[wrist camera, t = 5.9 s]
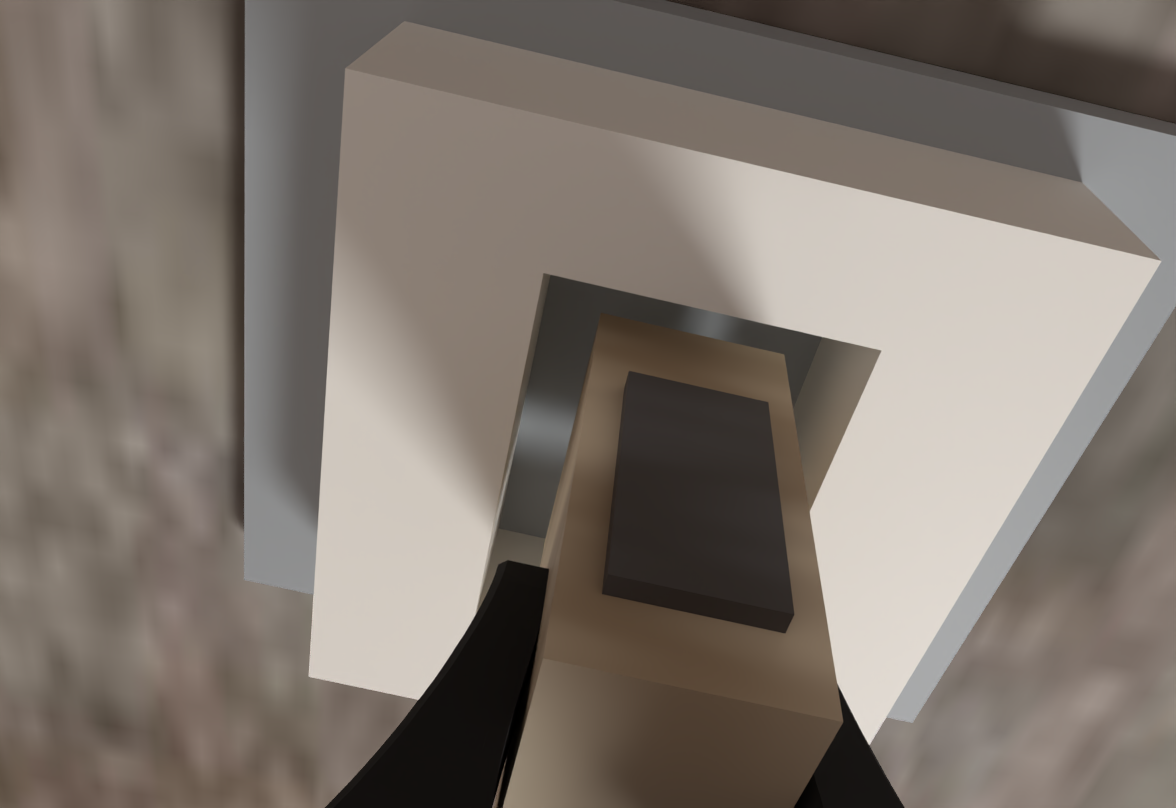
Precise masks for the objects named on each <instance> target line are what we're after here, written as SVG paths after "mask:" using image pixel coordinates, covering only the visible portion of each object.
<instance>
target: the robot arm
mask: <svg viewBox="0 0 1176 808" xmlns="http://www.w3.org/2000/svg"><path fill="white" fill-rule="evenodd" d="M548 574H549V569H547V568H542V567H538V566H533V565H529V564H524V563H519V562H515V561H510V560H507V561H505V562H502V563H500V564H498V567H497V570H496V573H495V576H494V578H493V581H492V583H491V585H490V588H489V590H488V592H487V594H486V596H485V598H484V600H483V602H482V604H481V606H480V608H479V610H478V611H477V613H476V615H475V617H474V618H473V620H472V622H471V624H470V625H469V627H468V629H467V630H466V632H465V634H464V635H463V637H462V638H461V640H460V641H459V643H458V644H457V646H456V647H455V649H454V650H453V652H452V654H451V655H450V657H449V658H448V660H447V661H446V663H445V664H444V666H443V667H442V669H441V670H440V672H439V673H438V675H437V676H436V677H435V679H434V680H433V682H432V683H431V684H430V685H429V687H428V688H427V689H426V691H425V692H424V693H423V695H422V696H421V697H420V699H419V700H418V701H417V703H416V704H415V705H414V707H413V708H412V709H411V710H410V712H409V713H408V714H407V716H406V717H405V718H404V720H403V721H402V722H401V723H400V725H399V726H398V727H397V728H396V730H395V731H394V732H393V733H392V734H391V736H390V737H389V738H388V739H387V740H386V742H385V743H384V744H383V745H382V746H381V748H380V749H379V750H378V751H377V752H376V753H375V755H374V756H373V757H372V758H371V759H370V760H369V761H368V762H367V763H366V765H365V766H364V767H363V768H362V769H361V770H360V771H359V772H358V774H357V775H356V776H355V777H354V778H353V779H352V780H351V781H350V782H349V783H348V784H347V785H346V786H345V787H344V789H343V790H342V791H341V792H340V793H339V794H338V795H337V796H336V797H335V798H334V799H333V800H332V801H331V802H330V803H329V804H328V805H327V806H326V807H325V808H492V805H493V802H494V798H495V795H496V792H497V788H498V785H499V781H500V778H501V774H502V771H503V768H504V764H505V761H506V757H507V753H508V749H509V746H510V742H511V738H512V734H513V730H514V726H515V722H516V718H517V715H518V711H519V707H520V703H521V699H522V695H523V691H524V687H525V683H526V680H527V676H528V672H529V668H530V664H531V660H532V656H533V652H534V649H535V645H536V641H537V637H538V633H539V629H540V625H541V620H542V614H543V607H544V601H545V594H546V588H547V581H548ZM837 686H838V684H837ZM838 692H839V698H840V704H841V711H842V717H843V723H842V725H841V727H840V729H839V730H838V732H837V734H836V736H835V737H834V739H833V741H832V742H831V744H830V746H829V748H828V749H827V751H826V753H825V754H824V756H823V758H822V760H821V761H820V763H819V765H818V766H817V768H816V770H815V772H814V773H813V775H812V777H811V778H810V780H809V782H808V784H807V785H806V787H805V789H804V790H803V792H802V794H801V796H800V797H799V799H798V801H797V803H796V804H795V806H794V808H904V806H903V804H902V803H901V801H900V799H899V798H898V796H897V794H896V792H895V791H894V789H893V787H892V786H891V784H890V782H889V780H888V779H887V777H886V775H885V773H884V771H883V770H882V768H881V766H880V764H879V762H878V760H877V759H876V757H875V755H874V753H873V751H872V750H871V748H870V746H869V744H868V742H867V740H866V739H865V737H864V735H863V733H862V731H861V729H860V727H859V725H858V723H857V721H856V720H855V718H854V716H853V714H852V712H851V710H850V708H849V706H848V704H847V702H846V700H845V698H844V696H843V694H842V692H841V690H840V688H839V686H838Z"/></svg>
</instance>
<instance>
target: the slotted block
mask: <svg viewBox="0 0 1176 808" xmlns="http://www.w3.org/2000/svg"><path fill="white" fill-rule="evenodd" d="M1175 306H1176V124H1175V123H1170V122H1166V121H1162V120H1158V119H1154V118H1150V117H1146V116H1141V115H1137V114H1133V113H1129V112H1125V111H1121V110H1117V109H1113V108H1108V107H1104V106H1100V105H1096V104H1092V103H1088V102H1084V101H1079V100H1075V99H1071V98H1067V97H1063V96H1059V95H1055V94H1050V93H1046V92H1042V91H1038V90H1034V89H1030V88H1026V87H1022V86H1017V85H1013V84H1009V83H1005V82H1001V81H997V80H993V79H988V78H984V77H980V76H976V75H972V74H968V73H964V72H959V71H955V70H951V69H947V68H943V67H939V66H935V65H931V64H926V63H922V62H918V61H914V60H910V59H906V58H902V57H897V56H893V55H889V54H885V53H881V52H877V51H873V50H868V49H864V48H860V47H856V46H852V45H848V44H844V43H840V42H835V41H831V40H827V39H823V38H819V37H815V36H811V35H806V34H802V33H798V32H794V31H790V30H786V29H782V28H778V27H773V26H769V25H765V24H761V23H757V22H753V21H749V20H744V19H740V18H736V17H732V16H728V15H724V14H720V13H715V12H711V11H707V10H703V9H699V8H695V7H691V6H687V5H682V4H678V3H674V2H670V1H666V0H245V284H244V580H247V581H252V582H257V583H261V584H266V585H271V586H275V587H280V588H285V589H289V590H294V591H299V592H303V593H308V594H313V595H314V597H313V614H312V630H311V647H310V664H309V677H313V678H318V679H322V680H327V681H332V682H337V683H341V684H346V685H351V686H356V687H360V688H365V689H370V690H375V691H379V692H384V693H389V694H394V695H398V696H403V697H408V698H413V699H417V700H419V699H420V697H421V696H422V695H423V693H424V692H425V691H426V689H427V688H428V687H429V685H430V684H431V683H432V682H433V680H434V679H435V677H436V676H437V675H438V673H439V672H440V670H441V669H442V667H443V666H444V664H445V663H446V661H447V660H448V658H449V657H450V655H451V654H452V652H453V650H454V649H455V647H456V646H457V644H458V643H459V641H460V640H461V638H462V637H463V635H464V634H465V632H466V630H467V629H468V627H469V625H470V624H471V622H472V620H473V618H474V617H475V615H476V613H477V611H478V610H479V608H480V606H481V604H482V602H483V600H484V598H485V596H486V594H487V592H488V590H489V588H490V585H491V583H492V581H493V578H494V576H495V573H496V570H497V567H498V564H500V563H502V562H505V561H507V560H510V561H515V562H519V563H524V564H529V565H533V566H538V567H540V564H541V559H542V554H543V548H544V543H545V538H546V534H547V530H548V526H549V522H550V518H551V514H552V510H553V506H554V502H555V498H556V493H557V489H558V485H559V481H560V477H561V473H562V469H563V465H564V461H565V457H566V453H567V449H568V444H569V440H570V436H571V432H572V428H573V424H574V420H575V416H576V412H577V408H578V404H579V400H580V395H581V391H582V387H583V383H584V379H585V375H586V371H587V367H588V363H589V359H590V355H591V351H592V346H593V342H594V338H595V334H596V330H597V326H598V322H599V318H600V314H601V313H604V314H609V315H613V316H618V317H622V318H626V319H631V320H635V321H640V322H644V323H648V324H653V325H657V326H662V327H666V328H670V329H675V330H679V331H683V332H688V333H692V334H697V335H701V336H705V337H710V338H714V339H719V340H723V341H727V342H732V343H736V344H741V345H745V346H749V347H754V348H758V349H763V350H767V351H771V352H776V353H780V354H784V356H785V362H786V368H787V375H788V381H789V387H790V393H791V399H792V406H793V412H794V418H795V424H796V431H797V437H798V443H799V449H800V456H801V462H802V468H803V474H804V480H805V487H806V493H807V499H808V505H809V512H810V518H811V524H812V530H813V536H814V543H815V549H816V555H817V561H818V568H819V574H820V580H821V586H822V592H823V599H824V605H825V611H826V617H827V624H828V630H829V636H830V642H831V648H832V655H833V661H834V667H835V673H836V680H837V684H838V686H839V688H840V690H841V692H842V694H843V696H844V698H845V700H846V702H847V704H848V706H849V708H850V710H851V712H852V714H853V716H854V718H855V720H856V721H857V723H858V725H859V727H860V729H861V731H862V733H863V735H864V737H865V739H866V740H867V742H868V744H869V745H870V743H871V742H872V740H873V738H874V737H875V735H876V733H877V732H878V730H879V728H880V727H881V725H882V723H883V722H884V720H885V718H886V717H887V718H892V719H897V720H901V721H906V722H911V723H913V721H914V719H915V718H916V716H917V715H918V713H919V712H920V710H921V708H922V707H923V705H924V704H925V702H926V700H927V699H928V697H929V696H930V694H931V693H932V691H933V689H934V688H935V686H936V685H937V683H938V681H939V680H940V678H941V677H942V675H943V674H944V672H945V670H946V669H947V667H948V666H949V664H950V662H951V661H952V659H953V658H954V656H955V655H956V653H957V651H958V650H959V648H960V647H961V645H962V643H963V642H964V640H965V639H966V637H967V636H968V634H969V632H970V631H971V629H972V628H973V626H974V624H975V623H976V621H977V620H978V618H979V617H980V615H981V613H982V612H983V610H984V609H985V607H986V605H987V604H988V602H989V601H990V599H991V598H992V596H993V594H994V593H995V591H996V590H997V588H998V586H999V585H1000V583H1001V582H1002V580H1003V579H1004V577H1005V575H1006V574H1007V572H1008V571H1009V569H1010V567H1011V566H1012V564H1013V563H1014V561H1015V560H1016V558H1017V556H1018V555H1019V553H1020V552H1021V550H1022V548H1023V547H1024V545H1025V544H1026V542H1027V541H1028V539H1029V537H1030V536H1031V534H1032V533H1033V531H1034V529H1035V528H1036V526H1037V525H1038V523H1039V522H1040V520H1041V518H1042V517H1043V515H1044V514H1045V512H1046V510H1047V509H1048V507H1049V506H1050V504H1051V503H1052V501H1053V499H1054V498H1055V496H1056V495H1057V493H1058V492H1059V490H1060V488H1061V487H1062V485H1063V484H1064V482H1065V480H1066V479H1067V477H1068V476H1069V474H1070V473H1071V471H1072V469H1073V468H1074V466H1075V465H1076V463H1077V461H1078V460H1079V458H1080V457H1081V455H1082V454H1083V452H1084V450H1085V449H1086V447H1087V446H1088V444H1089V442H1090V441H1091V439H1092V438H1093V436H1094V435H1095V433H1096V431H1097V430H1098V428H1099V427H1100V425H1101V423H1102V422H1103V420H1104V419H1105V417H1106V416H1107V414H1108V412H1109V411H1110V409H1111V408H1112V406H1113V404H1114V403H1115V401H1116V400H1117V398H1118V397H1119V395H1120V393H1121V392H1122V390H1123V389H1124V387H1125V385H1126V384H1127V382H1128V381H1129V379H1130V378H1131V376H1132V374H1133V373H1134V371H1135V370H1136V368H1137V366H1138V365H1139V363H1140V362H1141V360H1142V359H1143V357H1144V355H1145V354H1146V352H1147V351H1148V349H1149V347H1150V346H1151V344H1152V343H1153V341H1154V340H1155V338H1156V336H1157V335H1158V333H1159V332H1160V330H1161V328H1162V327H1163V325H1164V324H1165V322H1166V321H1167V319H1168V317H1169V316H1170V314H1171V313H1172V311H1173V309H1174V308H1175Z"/></svg>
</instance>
